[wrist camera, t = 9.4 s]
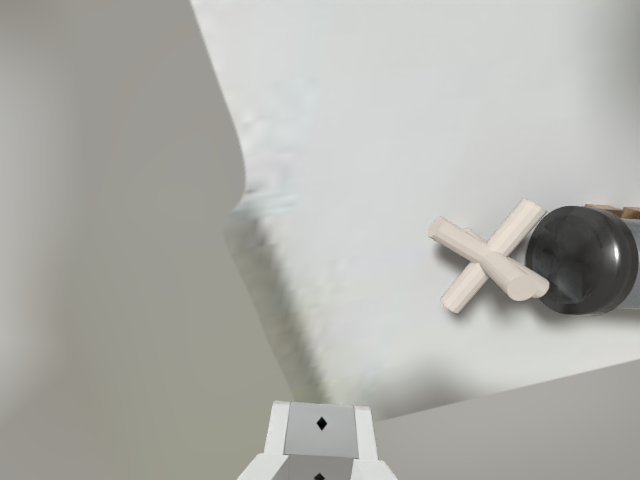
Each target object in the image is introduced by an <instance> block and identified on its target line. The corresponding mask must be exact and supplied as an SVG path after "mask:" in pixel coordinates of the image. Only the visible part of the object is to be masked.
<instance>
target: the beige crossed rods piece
mask: <svg viewBox="0 0 640 480" xmlns="http://www.w3.org/2000/svg"><path fill="white" fill-rule="evenodd" d="M546 213H547V211H546V210H544V209H543V208H541V207H540V206H538V205H536V204H534V203H532V202H530V201H528V200H526V199H522V200H521V201H520V202H519V203H518V205H517V206H516V207H515V208H514V210H513V211H512V212H511V213H510V214H509V216H508V217H507V218H506V219H505V220H504V222H503V223H502V224H501V225H500V227H499V228H498V229H497V230H496V231H495V233H494V234H493V235H492V236H491V237H490V239H489V240H488V241H487V242H486V241H485V240H484V239H482V238H481V237H480V236H479V235H477V234H476V233H475V232H474V231H472V230H471V229H467V228H466V229H462V228H460V227H458V226H457V225H455V224H453V223H452V222H450V221H448V220H447V219H445V218H443V217H439V218H437V219H436V220H435V221H434V222H433V223H432V224H431V226H430V228H429V230H428V237H430V238H432V239H433V240H435V241H437V242H438V243H440V244H442V245H444V246H445V247H447V248H449V249H450V250H452V251H454V252H456V253H457V254H459V255H461V256H462V257H464V258H466V259H467V260H469V261H471V262H470V263H469V264H468V265H467V266H466V268H465V269H464V270H463V271H462V273H461V274H460V275H459V276H458V277H457V279H456V280H455V281H454V282H453V283H452V285H451V286H450V287H449V288H448V290H447V291H446V292H445V293H444V294H443V296H442V297H441V298H440V301H441V302H442V304H443V305H444V306H446V307H447V308H448V309H449V310H451V311H452V312H454V313H457V314H458V313H460V311H461V310H462V309H463V308H464V307H465V306H466V305H467V303H468V302H469V301H470V300H471V299H472V298H473V296H474V295H475V294H476V293H477V292H478V291H479V290H480V288H481V287H482V286H483V285H484V284H485V283H486V282H487V280H488V279H489V278H491V279H492V280H493V281H494V282H495V283H496V284H497V285H498V286H499V287H500V288H501V289H502V290H503V291H504V292H505V293H506V294H507V295H508V296H509V297H510V298H511V299H513V300H516V301H523V300H527V299H529V298H531V297H533V298H539V297H541V296H543V295H544V294H546V292H547V291H548V289H549V282H548V280H547V279H545V278H544V277H542V276H540V275H539V274H537V273H535V272H534V271H532V270H530V269H529V268H527V267H525V266H524V265H522V264H520V263H519V262H517V261H515V260H514V259H512V258H510V257H509V255H510V254H511V253H512V252H513V250H514V249H515V248H516V247H517V246H518V245H519V244H520V242H521V241H522V240H523V239H524V238H525V237H526V236H527V234H528V233H529V232H530V231H531V230H532V229H533V227H534V226H535V225H536V224H537V223H538V222H539V221H540V219H541V218H542V217H543V216H544V215H545V214H546Z"/></svg>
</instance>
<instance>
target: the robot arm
mask: <svg viewBox="0 0 640 480" xmlns="http://www.w3.org/2000/svg"><path fill="white" fill-rule="evenodd" d="M237 480H398V479H397V478H396V477H395V475H394V474H393V472H392V471H391V470H390V468H389V467H388V466H387V464H386V463H385V462H384V461H381V460H379V458H378V451H377V445H376V439H375V432H374V427H373V419H372V413H371V409H370V407H369V406H353V405H339V404H312V403H301V402H288V401H274V404H273V406H272V412H271V417H270V423H269V428H268V433H267V439H266V444H265V450H264V453H259V454H258V455H257V456H256V457H255V458H254V459H253V461H252V462H251V463H250V464H249V465H248V467H247V468H246V469H245V470H244V471H243V472H242V474H241V475H240V476H239V477H238V478H237Z"/></svg>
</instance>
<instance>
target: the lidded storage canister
mask: <svg viewBox="0 0 640 480" xmlns="http://www.w3.org/2000/svg"><path fill="white" fill-rule="evenodd" d="M527 268H529V269H530V270H532V271H534V272H535V273H537V274H539V275H540V276H542V277H544V278H545V279H547V280H548V282H549V289H548V291H547V292H546V294H544V295H543V296H541V297H539V299H540V300H541V301H542V302H543V303H544V304H545V305H546V306H548V307H549V308H550V309H552V310H554V311H556V312H559V313H563V314H572V315H591V316H594V315H601V314H604V313H607V312H609V311H611V310H613V309H614V308H625V309H640V208H635V207H624V209H623V210H621V209H617V208H614V207H611V206H604V205H589V204H586V205H585V207H579V206H565V207H561V208H558V209H556V210H554V211H552V212H550V213H549V214H548V215H546V216H545V217H544V218H543V219H542V220H541V221H540V223H539V224H538V225H537V227H536V228H535V230H534V232H533V234H532V236H531V239H530V242H529V246H528V251H527Z"/></svg>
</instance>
